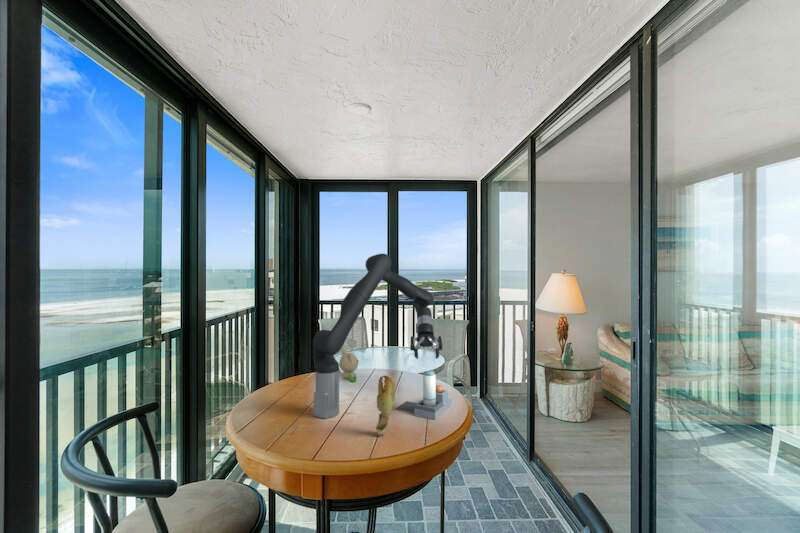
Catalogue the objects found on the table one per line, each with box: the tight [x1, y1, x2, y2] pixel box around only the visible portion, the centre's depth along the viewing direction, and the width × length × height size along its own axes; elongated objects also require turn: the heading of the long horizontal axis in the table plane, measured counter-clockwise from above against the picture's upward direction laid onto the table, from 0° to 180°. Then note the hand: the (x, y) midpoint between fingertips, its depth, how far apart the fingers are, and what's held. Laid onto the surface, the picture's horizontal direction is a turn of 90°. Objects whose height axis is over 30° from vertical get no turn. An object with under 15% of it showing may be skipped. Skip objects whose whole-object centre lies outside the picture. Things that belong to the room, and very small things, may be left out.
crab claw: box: [375, 375, 396, 437], centre depth 123 cm, size 7×5×20 cm
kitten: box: [338, 348, 359, 383], centre depth 190 cm, size 15×10×15 cm
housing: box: [413, 389, 453, 421], centre depth 145 cm, size 17×9×6 cm, turn 151°
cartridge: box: [422, 370, 437, 408], centre depth 142 cm, size 5×5×14 cm
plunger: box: [436, 384, 444, 393], centre depth 150 cm, size 3×3×2 cm
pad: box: [394, 400, 419, 414], centre depth 148 cm, size 10×10×1 cm
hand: (427, 357), depth 153 cm, fingers open, 8 cm apart
